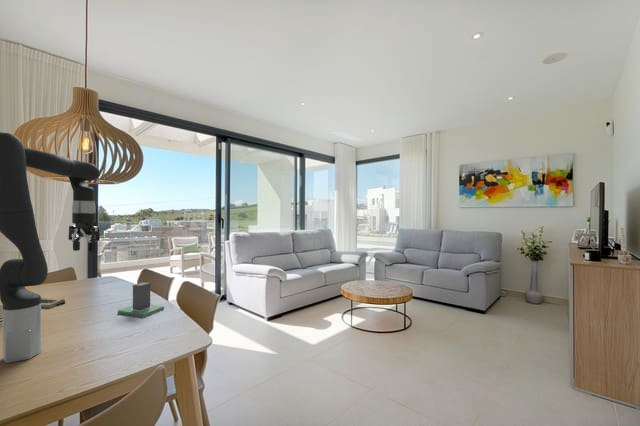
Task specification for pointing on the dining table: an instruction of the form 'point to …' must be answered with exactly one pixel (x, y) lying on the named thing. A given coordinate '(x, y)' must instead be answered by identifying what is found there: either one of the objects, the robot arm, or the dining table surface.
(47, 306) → the computer
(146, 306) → the block
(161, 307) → the board
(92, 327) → the dining table surface
